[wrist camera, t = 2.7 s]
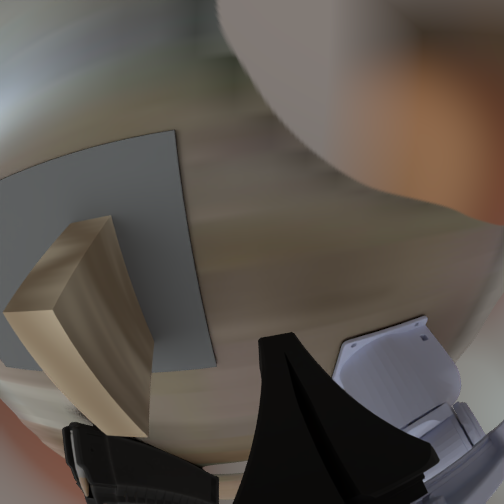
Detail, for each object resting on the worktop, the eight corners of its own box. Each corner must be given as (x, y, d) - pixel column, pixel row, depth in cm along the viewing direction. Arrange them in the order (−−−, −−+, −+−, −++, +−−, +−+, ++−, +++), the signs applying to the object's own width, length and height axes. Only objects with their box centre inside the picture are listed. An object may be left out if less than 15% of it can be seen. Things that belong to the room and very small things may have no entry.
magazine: (231, 512, 30) (109, 559, 8) (215, 514, 30) (88, 552, 8) (206, 434, 41) (75, 411, 19) (192, 437, 41) (58, 413, 19)
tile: (110, 215, 12) (52, 309, 6) (154, 341, 17) (148, 437, 11) (70, 223, 12) (2, 312, 6) (120, 344, 16) (106, 435, 10)
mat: (174, 129, 11) (174, 130, 11) (216, 363, 19) (216, 366, 19) (-70, 218, 8) (-72, 220, 8) (7, 364, 16) (6, 366, 16)
